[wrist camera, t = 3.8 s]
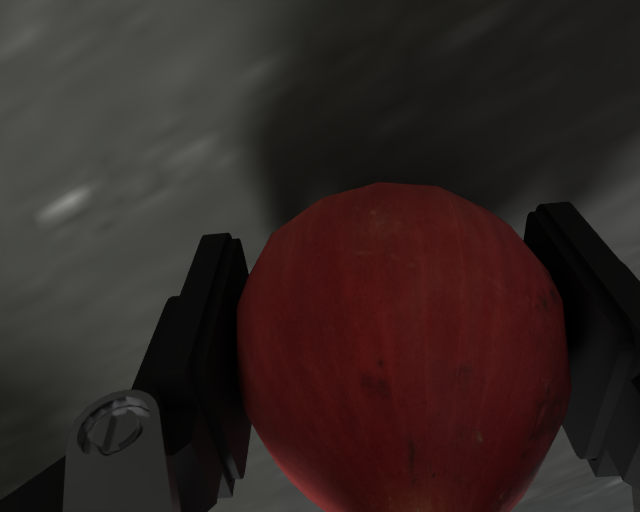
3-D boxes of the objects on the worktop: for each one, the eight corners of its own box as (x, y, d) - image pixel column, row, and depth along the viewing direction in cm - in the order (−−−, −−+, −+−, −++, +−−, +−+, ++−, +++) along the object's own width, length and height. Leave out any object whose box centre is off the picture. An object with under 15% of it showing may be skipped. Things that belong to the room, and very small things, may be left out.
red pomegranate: (530, 134, 11) (856, 481, 4) (461, 329, 14) (584, 697, 7) (262, 108, 10) (157, 437, 4) (255, 313, 14) (193, 682, 7)
